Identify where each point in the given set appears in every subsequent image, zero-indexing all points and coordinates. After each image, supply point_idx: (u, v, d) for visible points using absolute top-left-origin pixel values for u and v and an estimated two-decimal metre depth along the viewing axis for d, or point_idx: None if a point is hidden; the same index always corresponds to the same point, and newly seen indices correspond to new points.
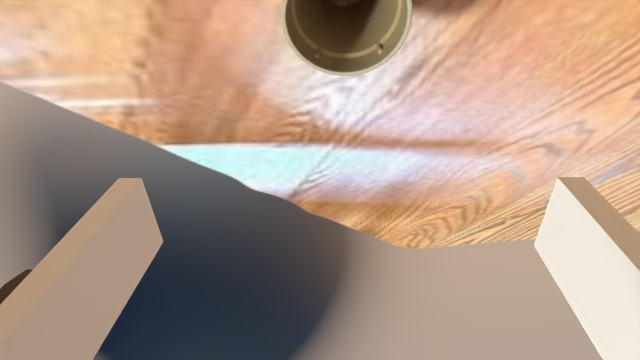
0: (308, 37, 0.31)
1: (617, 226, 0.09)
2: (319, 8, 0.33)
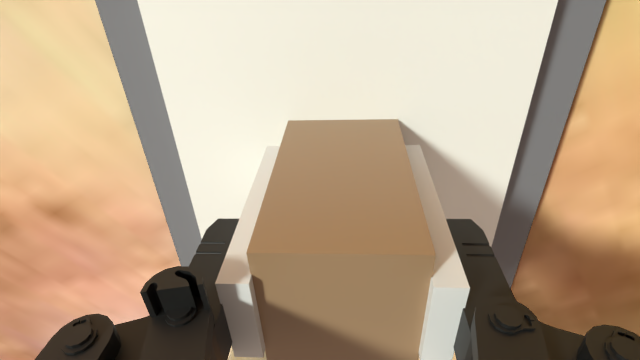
0: None
1: (420, 179, 0.12)
2: None
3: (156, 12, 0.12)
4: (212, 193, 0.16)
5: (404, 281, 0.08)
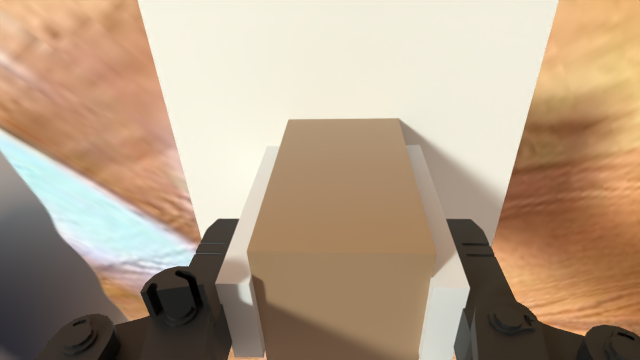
0: None
1: (420, 179, 0.12)
2: None
3: (156, 10, 0.12)
4: (212, 192, 0.16)
5: (405, 281, 0.08)
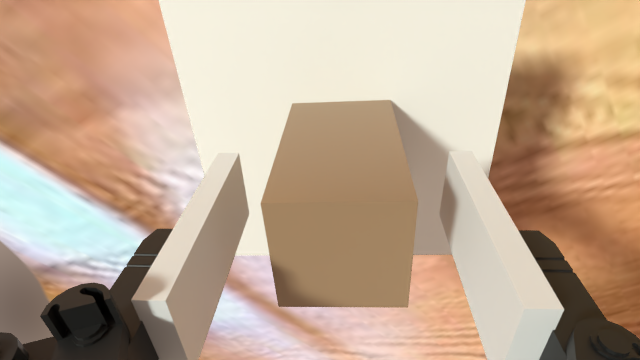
0: None
1: (481, 188, 0.11)
2: None
3: (174, 8, 0.14)
4: None
5: (393, 226, 0.10)
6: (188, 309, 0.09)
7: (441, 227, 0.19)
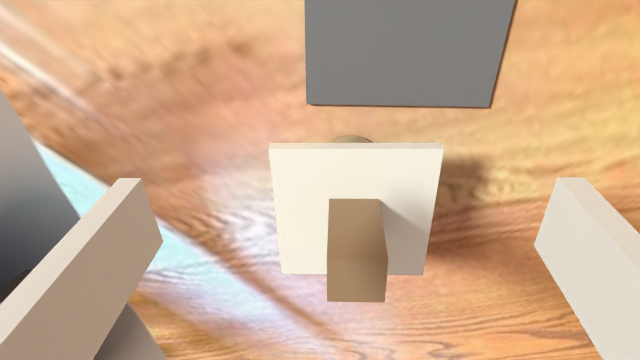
0: None
1: (617, 226, 0.09)
2: None
3: (276, 156, 0.29)
4: (288, 229, 0.33)
5: (378, 269, 0.25)
6: None
7: (405, 260, 0.34)
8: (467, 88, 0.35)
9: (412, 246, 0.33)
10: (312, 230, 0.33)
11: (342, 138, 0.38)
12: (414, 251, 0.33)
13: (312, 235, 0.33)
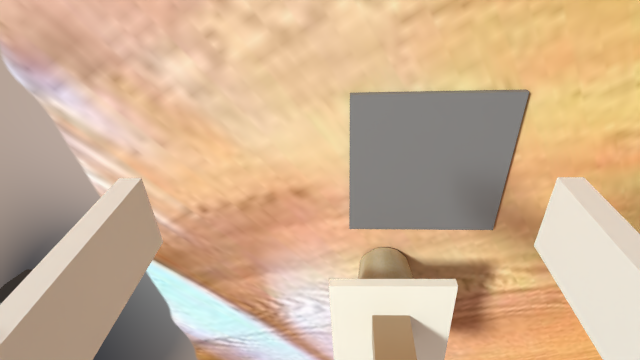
0: None
1: (617, 226, 0.09)
2: None
3: (334, 290, 0.40)
4: (340, 333, 0.43)
5: None
6: None
7: (429, 353, 0.44)
8: (475, 218, 0.45)
9: (435, 344, 0.43)
10: (358, 334, 0.43)
11: (377, 250, 0.48)
12: (437, 347, 0.44)
13: (358, 337, 0.43)
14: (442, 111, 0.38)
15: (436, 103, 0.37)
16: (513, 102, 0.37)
